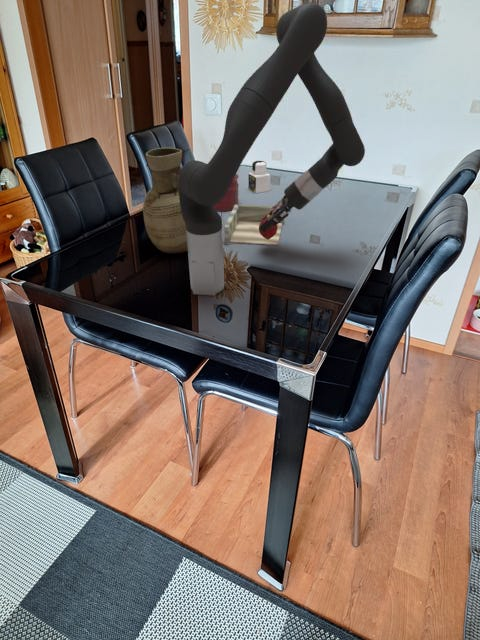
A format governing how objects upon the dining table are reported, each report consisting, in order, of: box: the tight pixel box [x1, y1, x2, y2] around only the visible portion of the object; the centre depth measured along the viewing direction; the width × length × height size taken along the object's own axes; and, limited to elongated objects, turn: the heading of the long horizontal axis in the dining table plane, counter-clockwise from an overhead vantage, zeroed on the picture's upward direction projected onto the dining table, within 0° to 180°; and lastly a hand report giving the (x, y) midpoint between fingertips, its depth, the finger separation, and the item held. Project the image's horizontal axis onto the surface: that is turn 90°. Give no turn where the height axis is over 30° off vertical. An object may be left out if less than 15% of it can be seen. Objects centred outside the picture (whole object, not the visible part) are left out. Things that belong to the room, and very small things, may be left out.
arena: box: [223, 204, 285, 246], centre depth 148 cm, size 21×18×6 cm
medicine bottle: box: [248, 160, 271, 194], centre depth 186 cm, size 7×7×12 cm
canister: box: [214, 173, 240, 212], centre depth 168 cm, size 13×13×18 cm
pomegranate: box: [259, 215, 278, 240], centre depth 134 cm, size 6×6×8 cm
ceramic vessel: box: [142, 147, 188, 254], centre depth 134 cm, size 19×21×30 cm
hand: (262, 226), depth 134 cm, fingers closed on pomegranate, 5 cm apart
